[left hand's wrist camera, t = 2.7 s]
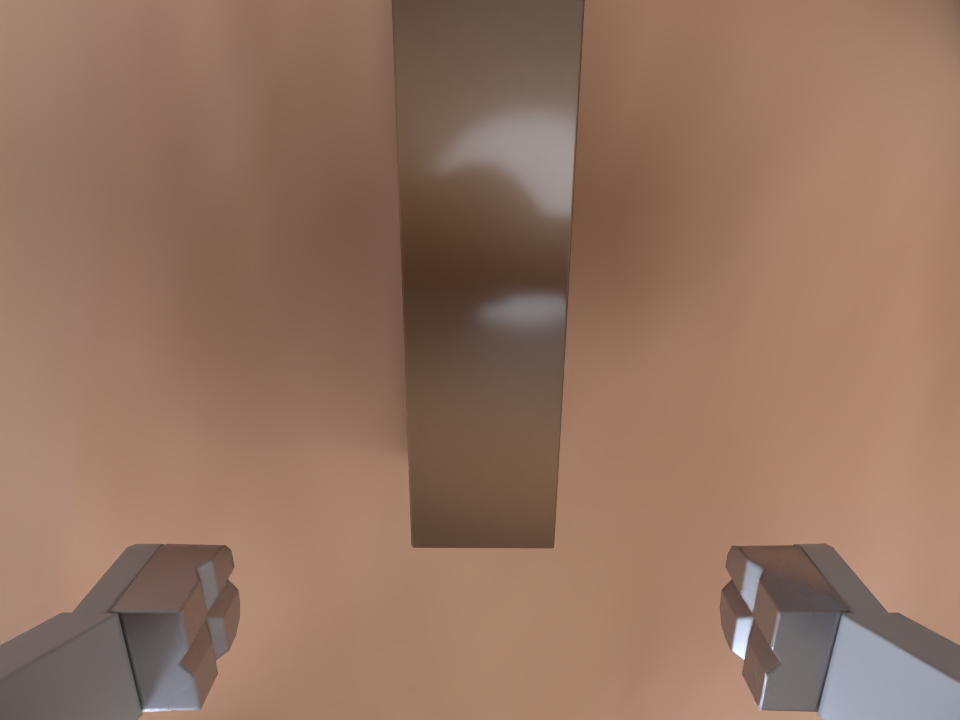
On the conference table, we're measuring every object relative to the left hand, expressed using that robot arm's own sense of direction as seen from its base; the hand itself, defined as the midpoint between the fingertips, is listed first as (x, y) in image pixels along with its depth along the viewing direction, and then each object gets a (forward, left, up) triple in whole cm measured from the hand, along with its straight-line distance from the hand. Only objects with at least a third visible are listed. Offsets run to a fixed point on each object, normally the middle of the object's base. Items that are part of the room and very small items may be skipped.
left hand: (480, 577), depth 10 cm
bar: (+7, +20, -16) cm, 27 cm away
